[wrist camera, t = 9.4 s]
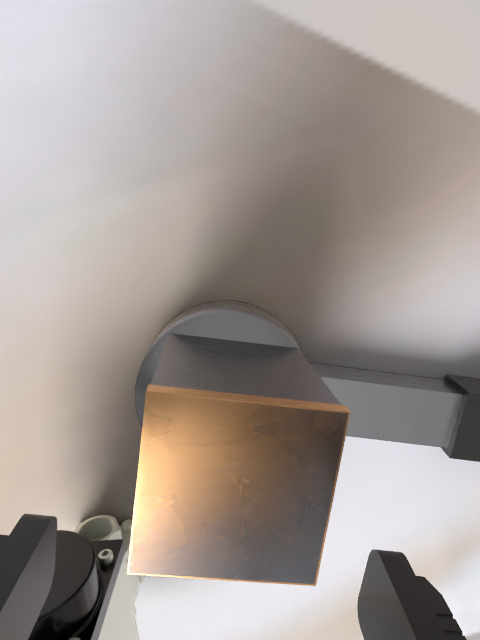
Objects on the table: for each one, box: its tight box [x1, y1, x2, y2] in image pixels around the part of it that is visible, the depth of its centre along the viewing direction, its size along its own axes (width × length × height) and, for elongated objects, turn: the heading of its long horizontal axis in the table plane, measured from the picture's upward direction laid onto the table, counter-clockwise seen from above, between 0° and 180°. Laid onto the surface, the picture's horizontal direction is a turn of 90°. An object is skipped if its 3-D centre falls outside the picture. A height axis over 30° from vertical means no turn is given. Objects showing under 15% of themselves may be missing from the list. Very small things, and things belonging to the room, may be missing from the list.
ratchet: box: [135, 301, 480, 462], centre depth 20 cm, size 21×8×6 cm, turn 82°
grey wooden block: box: [127, 333, 350, 586], centre depth 16 cm, size 6×6×7 cm
